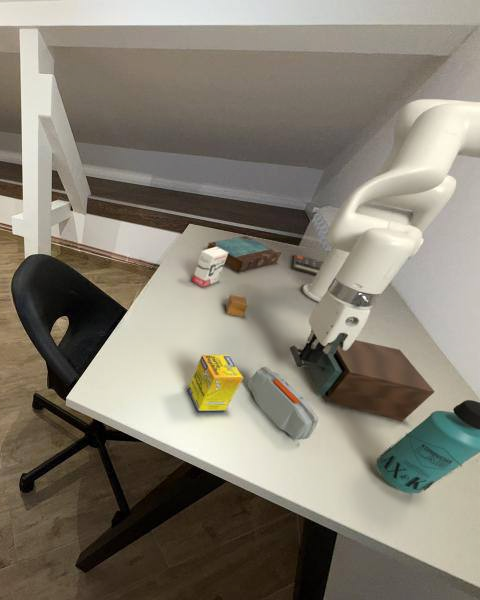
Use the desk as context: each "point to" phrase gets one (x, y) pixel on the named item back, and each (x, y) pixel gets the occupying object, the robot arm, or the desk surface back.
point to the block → (236, 305)
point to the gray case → (283, 404)
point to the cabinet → (378, 382)
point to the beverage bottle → (433, 448)
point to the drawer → (321, 370)
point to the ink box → (209, 266)
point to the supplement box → (214, 383)
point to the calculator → (306, 264)
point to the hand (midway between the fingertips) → (307, 359)
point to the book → (246, 253)
